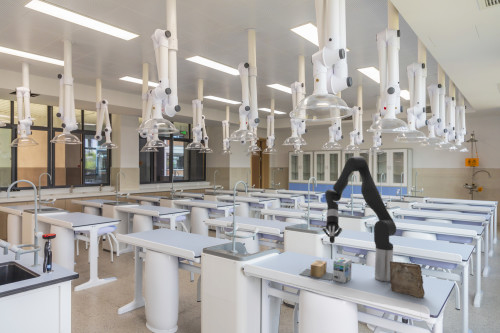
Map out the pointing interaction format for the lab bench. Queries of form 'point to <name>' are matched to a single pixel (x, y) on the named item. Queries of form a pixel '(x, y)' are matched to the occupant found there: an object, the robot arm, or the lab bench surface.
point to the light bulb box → (342, 270)
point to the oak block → (318, 268)
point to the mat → (325, 276)
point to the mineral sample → (406, 279)
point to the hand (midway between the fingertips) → (332, 242)
